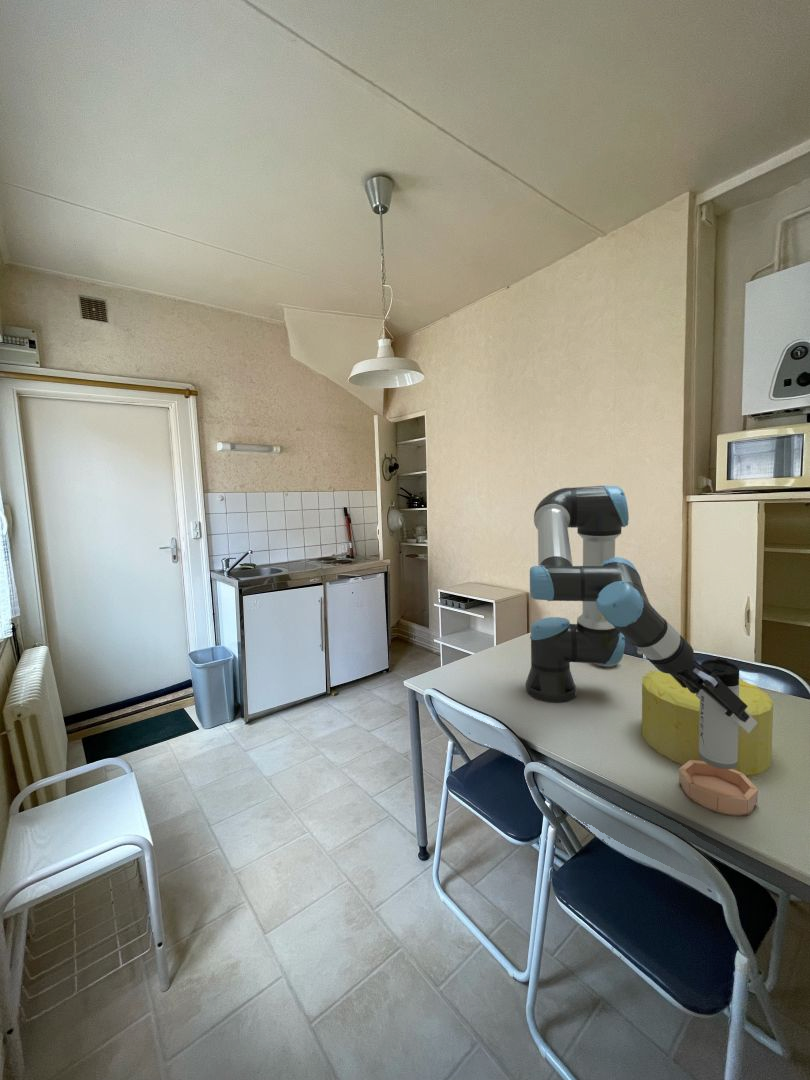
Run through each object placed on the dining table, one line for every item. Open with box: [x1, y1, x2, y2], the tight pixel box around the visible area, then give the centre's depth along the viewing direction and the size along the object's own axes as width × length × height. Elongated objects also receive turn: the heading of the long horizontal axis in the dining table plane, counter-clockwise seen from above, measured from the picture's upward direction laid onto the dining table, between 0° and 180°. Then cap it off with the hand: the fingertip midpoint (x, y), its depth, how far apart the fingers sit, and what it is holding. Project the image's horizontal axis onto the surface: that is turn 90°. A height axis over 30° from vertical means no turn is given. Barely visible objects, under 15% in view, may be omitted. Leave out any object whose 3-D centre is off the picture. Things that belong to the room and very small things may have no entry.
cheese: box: [641, 670, 774, 777], centre depth 105 cm, size 26×26×15 cm
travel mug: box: [699, 658, 740, 769], centre depth 85 cm, size 6×7×20 cm
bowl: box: [678, 760, 759, 817], centre depth 87 cm, size 12×12×3 cm
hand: (735, 718), depth 86 cm, fingers closed on travel mug, 6 cm apart
